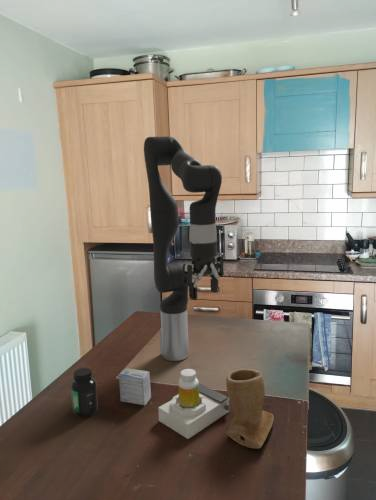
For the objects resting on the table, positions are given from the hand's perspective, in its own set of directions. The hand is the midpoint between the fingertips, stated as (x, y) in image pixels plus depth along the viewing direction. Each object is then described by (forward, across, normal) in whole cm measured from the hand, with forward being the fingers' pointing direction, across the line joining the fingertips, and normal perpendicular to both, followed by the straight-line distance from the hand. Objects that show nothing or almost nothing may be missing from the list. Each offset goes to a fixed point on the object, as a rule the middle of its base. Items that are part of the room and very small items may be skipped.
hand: (204, 295), depth 120 cm
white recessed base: (+30, +11, +6) cm, 33 cm away
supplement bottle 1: (+30, +30, -18) cm, 46 cm away
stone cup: (+30, +6, +20) cm, 37 cm away
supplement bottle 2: (+26, +13, +6) cm, 30 cm away
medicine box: (+30, +17, -12) cm, 37 cm away
